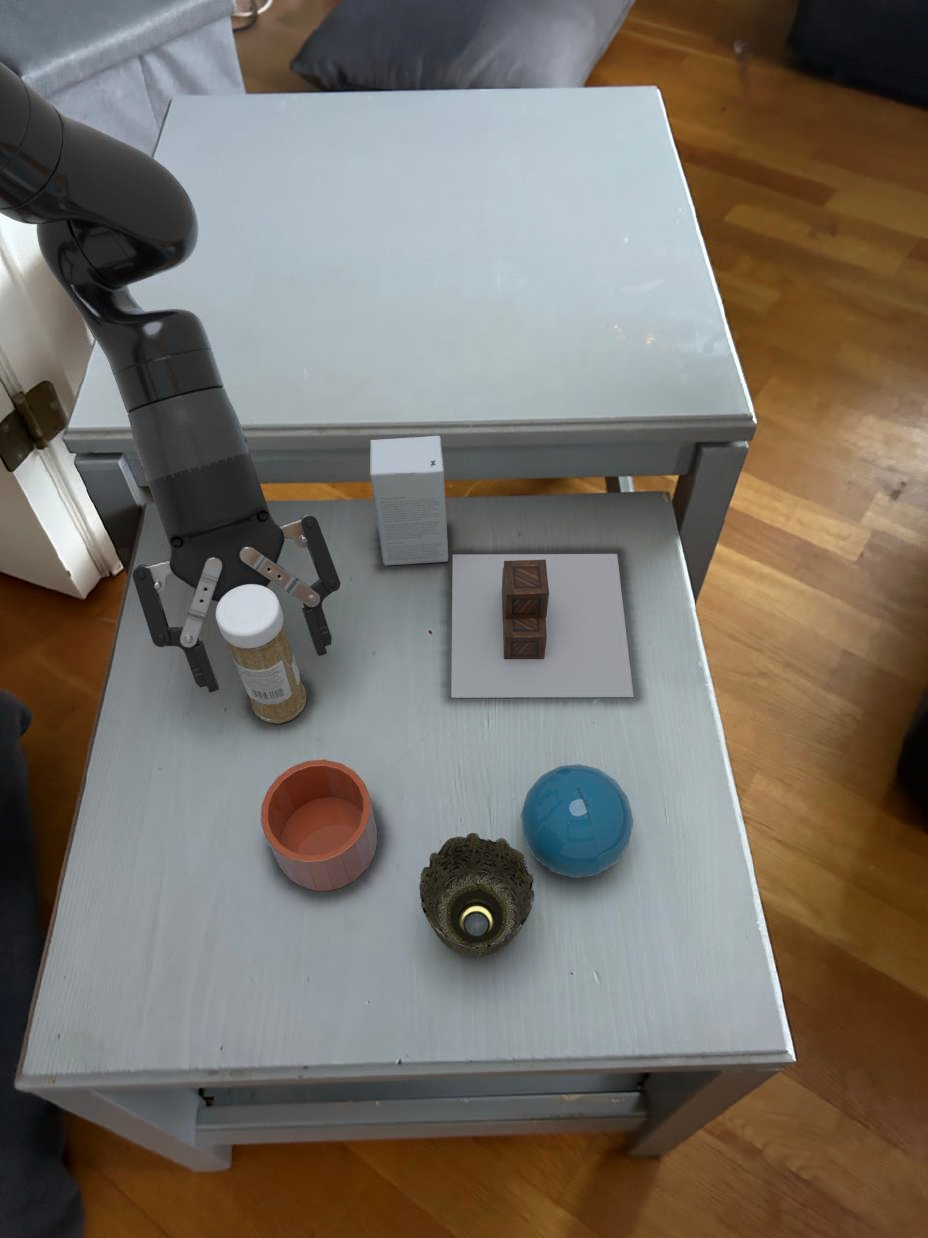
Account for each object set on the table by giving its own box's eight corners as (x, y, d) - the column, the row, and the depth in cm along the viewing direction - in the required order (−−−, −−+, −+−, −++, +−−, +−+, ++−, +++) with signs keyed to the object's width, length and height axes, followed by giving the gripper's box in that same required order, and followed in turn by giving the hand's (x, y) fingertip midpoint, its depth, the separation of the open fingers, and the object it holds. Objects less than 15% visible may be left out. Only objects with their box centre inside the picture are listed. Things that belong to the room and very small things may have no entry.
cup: (412, 963, 66) (405, 929, 59) (438, 863, 70) (435, 821, 63) (516, 990, 65) (521, 958, 58) (537, 887, 69) (544, 846, 62)
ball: (601, 779, 74) (613, 731, 67) (642, 875, 69) (660, 833, 63) (503, 808, 72) (506, 762, 66) (539, 908, 68) (546, 869, 61)
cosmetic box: (446, 527, 88) (442, 433, 78) (448, 563, 86) (445, 471, 76) (381, 530, 88) (369, 437, 78) (381, 567, 86) (369, 475, 76)
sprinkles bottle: (314, 684, 79) (288, 588, 68) (295, 731, 76) (264, 640, 65) (263, 672, 79) (229, 575, 68) (242, 718, 77) (203, 626, 66)
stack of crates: (633, 697, 78) (646, 652, 72) (451, 697, 78) (449, 653, 72) (617, 554, 86) (627, 504, 81) (452, 554, 86) (451, 504, 81)
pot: (292, 907, 68) (278, 878, 63) (264, 815, 72) (248, 782, 67) (391, 868, 70) (385, 837, 65) (358, 780, 74) (350, 745, 69)
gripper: (92, 491, 63) (174, 715, 66) (297, 433, 66) (366, 649, 69) (103, 490, 70) (177, 692, 74) (288, 437, 73) (351, 634, 77)
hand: (269, 671), depth 72 cm, fingers open, 8 cm apart
